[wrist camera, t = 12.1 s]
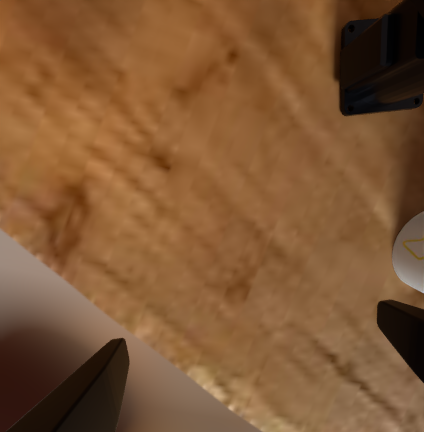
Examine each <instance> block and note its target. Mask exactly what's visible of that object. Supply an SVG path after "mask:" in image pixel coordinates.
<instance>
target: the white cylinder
mask: <svg viewBox="0 0 424 432" xmlns="http://www.w3.org/2000/svg"><path fill="white" fill-rule="evenodd" d="M392 262H393V267H394V270H395V272H396V274H397V275H398V277H399V278H400V279H401V280H402V281H403V282H404V283H406V284H407V285H409V286H411V287H413V288H415V289H417V290H419V291H420V292H422V293H424V211H423V212H421V213H419V214H418V215H416V216H415V217H413V218H412V219H411V220H410V221H409V222H407V223H406V225H405V226H404V227H403V228H402V230H401V231H400V233H399V234H398V236H397V238H396V240H395V243H394V247H393V252H392Z"/></svg>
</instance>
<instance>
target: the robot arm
mask: <svg viewBox="0 0 424 432" xmlns="http://www.w3.org/2000/svg"><path fill="white" fill-rule="evenodd" d="M348 28H350V29H351V32H349V31H348ZM340 86H341V112H342V114H343V115H344V116H353V115H363V114H372V113H381V112H390V111H399V110H409V109H414V108H417V107H419V106H421V104H422V101H423V93H424V0H403V1H402V2H401V3H399V4H398V5H397V6H396V7H395V8H393V9H392V10H391V11H390V12H389V13H387V14H384V15H383V16H382V17H380V18H378V19H367V20H356V21H350V22H348V23H347V24H346V25H345V26H344V27H343V29H342V32H341V53H340ZM414 100H415V104H414ZM348 106H349V107H350V111H348V109H347V108H348ZM377 324H378V327H379V329H380V330H381V331H382V332H383V334H384V335H385V336H386V338H387V339H388V340H389V341H390V343H391V344H392V345H393V346H394V348H395V349H396V350H397V352H398V353H399V354H400V355H401V357H402V358H403V359H404V360H405V362H406V363H407V364H408V366H409V367H410V368H411V369H412V370H413V372H414V373H415V374H416V375H417V376H418V377H419V378H420V380H421V381H422V382H423V383H424V309H421V308H417V307H414V306H411V305H408V304H404V303H401V302H398V301H394V300H384V301H380V302H379V303H378V305H377ZM128 369H129V356H128V350H127V345H126V341H125V339H124V338H119V339H112V340H111V341H110V342H108V343H107V344H106V345H105V346H103V347H102V348H101V349H100V350H99V351H98V352H97V353H95V354H94V355H93V356H92V357H91V358H90V359H89V360H87V361H86V362H85V363H84V364H83V365H82V366H81V367H80V368H78V369H77V370H76V371H75V372H74V373H73V374H72V375H70V376H69V377H68V378H67V379H66V380H65V381H63V382H62V383H61V384H60V385H59V386H58V387H57V388H56V389H54V390H53V391H52V392H51V393H50V394H49V395H48V396H46V397H45V398H44V399H43V400H42V401H41V402H39V403H38V404H37V405H36V406H35V407H34V408H32V409H31V410H30V411H29V412H28V413H27V414H26V415H24V416H23V417H22V418H21V419H20V420H19V421H18V422H16V423H15V424H14V425H13V426H12V427H11V428H10V429H8V430H7V431H6V432H115V431H116V427H117V423H118V419H119V415H120V410H121V405H122V400H123V395H124V390H125V384H126V379H127V374H128Z"/></svg>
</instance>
